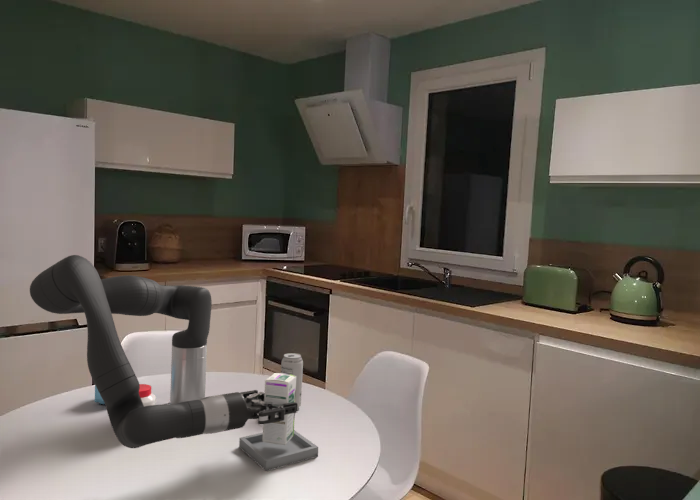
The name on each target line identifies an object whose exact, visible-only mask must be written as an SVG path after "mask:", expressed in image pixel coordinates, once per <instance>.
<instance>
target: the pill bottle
mask: <svg viewBox="0 0 700 500" xmlns="http://www.w3.org/2000/svg"><path fill="white" fill-rule="evenodd" d="M139 385H140V389H139V395H140V398H141V400H142V403H143V405H144V406H151V405H157V396H156V395H155V394H154V393H153V392H152V386H151V385H150V384H145V383H139Z"/></svg>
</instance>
